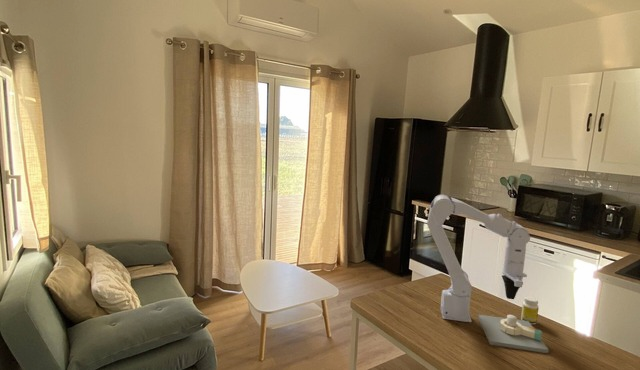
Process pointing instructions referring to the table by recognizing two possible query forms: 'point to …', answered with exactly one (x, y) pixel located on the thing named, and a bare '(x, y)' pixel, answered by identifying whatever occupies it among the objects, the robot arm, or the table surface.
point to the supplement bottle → (530, 310)
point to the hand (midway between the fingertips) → (510, 298)
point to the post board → (507, 340)
